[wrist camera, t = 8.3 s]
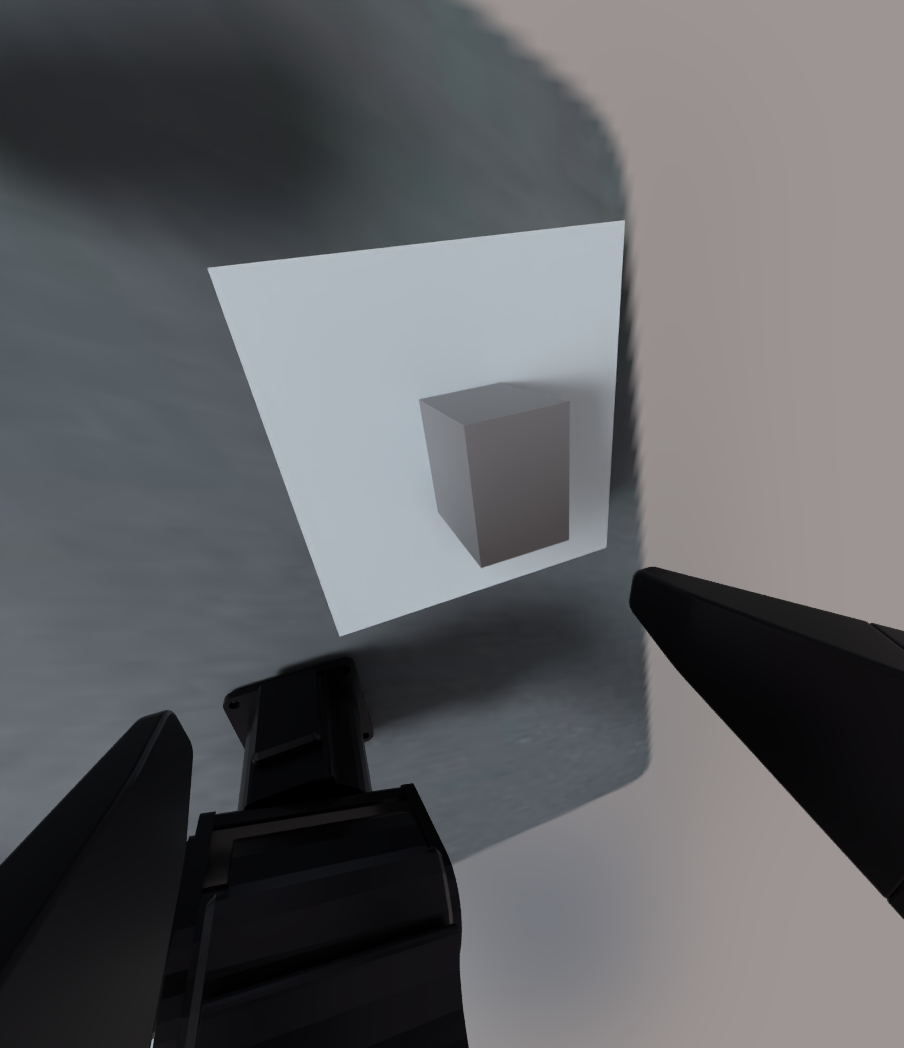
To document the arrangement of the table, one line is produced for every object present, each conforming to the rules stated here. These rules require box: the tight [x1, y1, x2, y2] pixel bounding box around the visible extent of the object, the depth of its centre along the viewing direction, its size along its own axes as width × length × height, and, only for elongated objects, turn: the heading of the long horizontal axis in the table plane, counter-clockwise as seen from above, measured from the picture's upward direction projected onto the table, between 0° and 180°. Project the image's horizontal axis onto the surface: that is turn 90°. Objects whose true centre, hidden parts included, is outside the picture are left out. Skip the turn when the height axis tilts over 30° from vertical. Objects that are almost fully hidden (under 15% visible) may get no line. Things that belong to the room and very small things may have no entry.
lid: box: [208, 220, 625, 636], centre depth 13 cm, size 12×12×5 cm
